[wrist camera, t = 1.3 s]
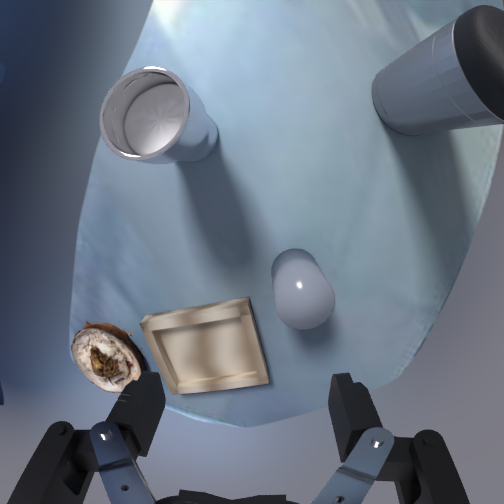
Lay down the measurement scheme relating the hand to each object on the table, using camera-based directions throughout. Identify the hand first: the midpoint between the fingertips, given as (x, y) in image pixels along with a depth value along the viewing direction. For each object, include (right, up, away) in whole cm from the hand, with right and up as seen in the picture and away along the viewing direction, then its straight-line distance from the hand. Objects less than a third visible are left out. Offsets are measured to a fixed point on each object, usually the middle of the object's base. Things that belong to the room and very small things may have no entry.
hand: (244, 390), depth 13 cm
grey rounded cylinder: (+5, +4, +23) cm, 24 cm away
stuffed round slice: (-21, -9, +28) cm, 36 cm away
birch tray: (-5, -6, +26) cm, 27 cm away
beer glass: (-6, +19, +19) cm, 28 cm away
